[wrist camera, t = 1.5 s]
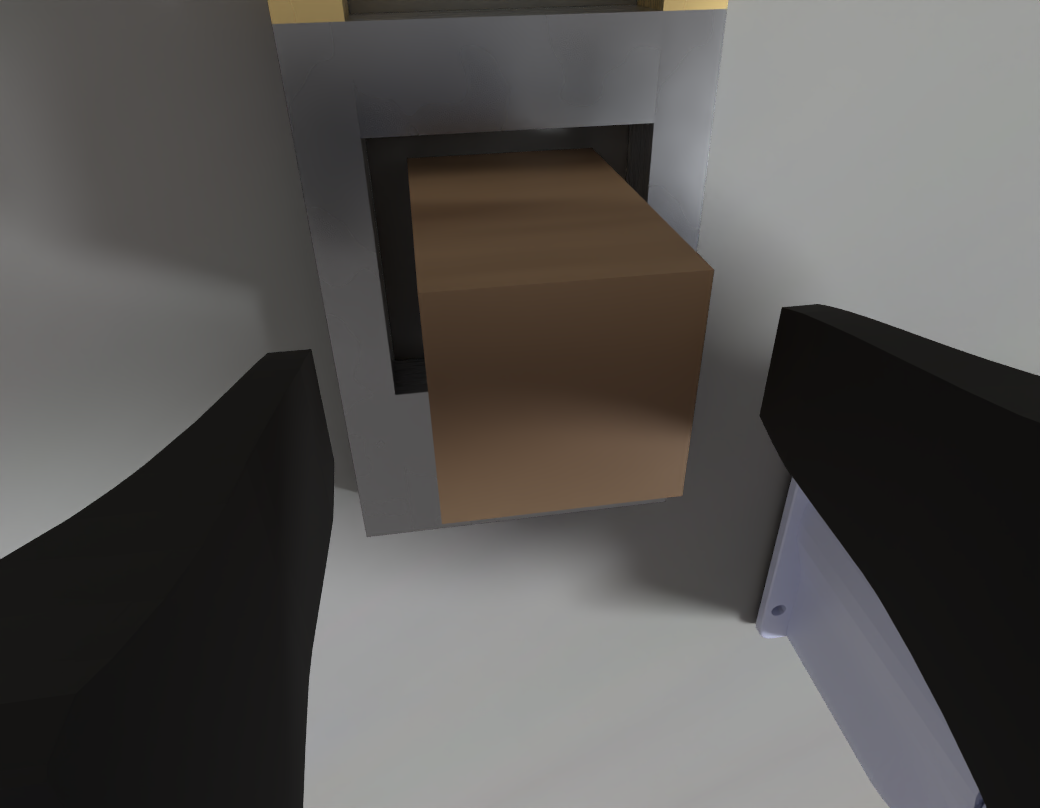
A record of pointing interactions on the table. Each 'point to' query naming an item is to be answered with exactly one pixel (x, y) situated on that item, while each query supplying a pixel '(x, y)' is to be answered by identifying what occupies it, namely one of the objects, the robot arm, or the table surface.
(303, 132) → the tray
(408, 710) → the table surface
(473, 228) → the walnut block
